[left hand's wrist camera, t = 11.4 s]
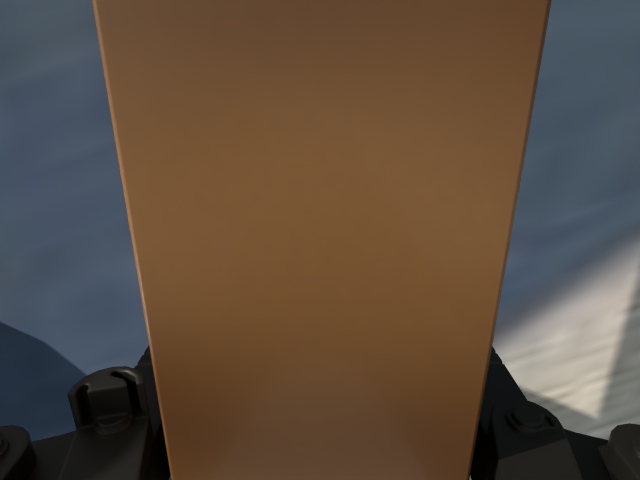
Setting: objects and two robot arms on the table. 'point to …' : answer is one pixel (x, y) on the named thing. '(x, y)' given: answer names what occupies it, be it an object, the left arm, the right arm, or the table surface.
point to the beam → (321, 222)
